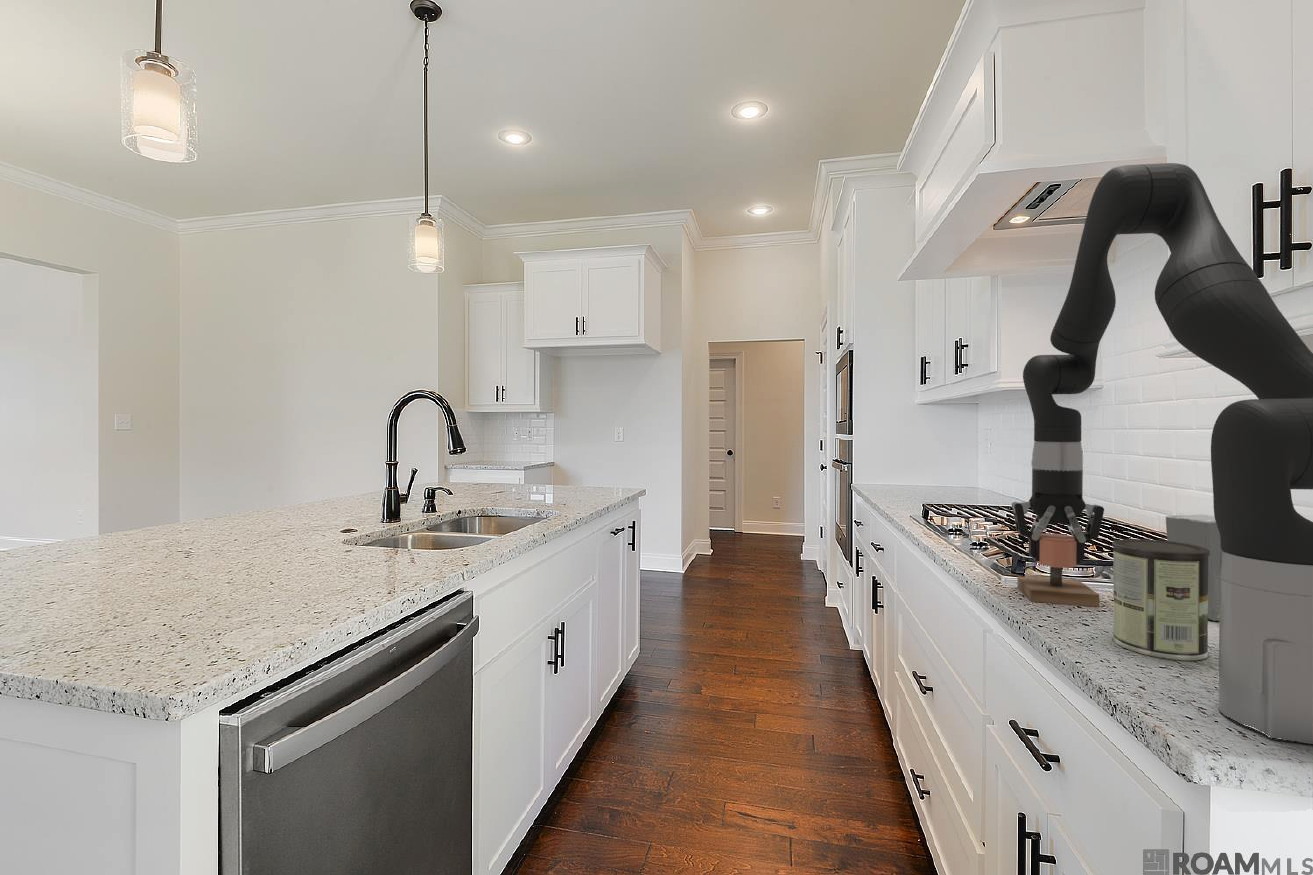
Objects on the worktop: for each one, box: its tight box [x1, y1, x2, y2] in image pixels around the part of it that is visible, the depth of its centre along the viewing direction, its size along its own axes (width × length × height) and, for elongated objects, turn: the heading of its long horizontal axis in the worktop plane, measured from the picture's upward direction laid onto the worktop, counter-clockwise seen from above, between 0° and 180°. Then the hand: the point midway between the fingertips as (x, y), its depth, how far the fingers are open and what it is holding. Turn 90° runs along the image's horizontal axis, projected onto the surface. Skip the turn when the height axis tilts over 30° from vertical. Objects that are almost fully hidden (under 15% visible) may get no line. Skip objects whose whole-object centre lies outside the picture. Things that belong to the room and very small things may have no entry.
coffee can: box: [1111, 538, 1210, 662], centre depth 84 cm, size 10×10×14 cm
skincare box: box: [1165, 514, 1221, 622], centre depth 98 cm, size 8×7×16 cm
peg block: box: [1016, 567, 1100, 608], centre depth 108 cm, size 10×10×6 cm
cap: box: [1035, 532, 1077, 569], centre depth 108 cm, size 6×6×5 cm
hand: (1056, 561), depth 108 cm, fingers closed on cap, 5 cm apart
